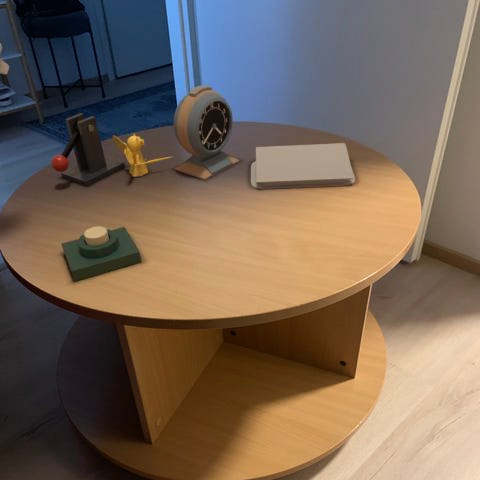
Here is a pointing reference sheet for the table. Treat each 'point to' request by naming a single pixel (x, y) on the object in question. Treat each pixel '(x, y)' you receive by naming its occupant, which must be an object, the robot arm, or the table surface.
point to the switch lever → (66, 150)
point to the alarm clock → (204, 132)
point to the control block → (101, 254)
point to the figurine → (135, 154)
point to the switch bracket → (89, 154)
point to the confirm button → (96, 236)
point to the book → (301, 166)
